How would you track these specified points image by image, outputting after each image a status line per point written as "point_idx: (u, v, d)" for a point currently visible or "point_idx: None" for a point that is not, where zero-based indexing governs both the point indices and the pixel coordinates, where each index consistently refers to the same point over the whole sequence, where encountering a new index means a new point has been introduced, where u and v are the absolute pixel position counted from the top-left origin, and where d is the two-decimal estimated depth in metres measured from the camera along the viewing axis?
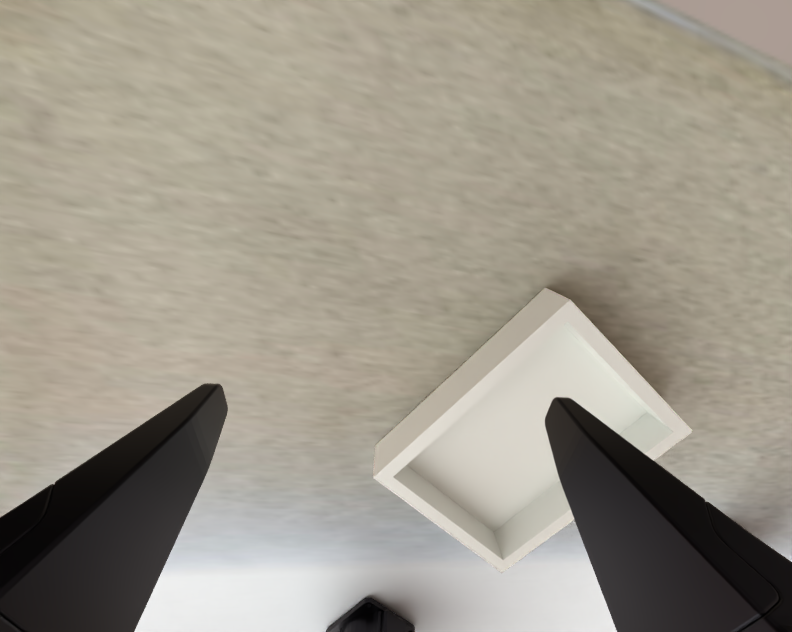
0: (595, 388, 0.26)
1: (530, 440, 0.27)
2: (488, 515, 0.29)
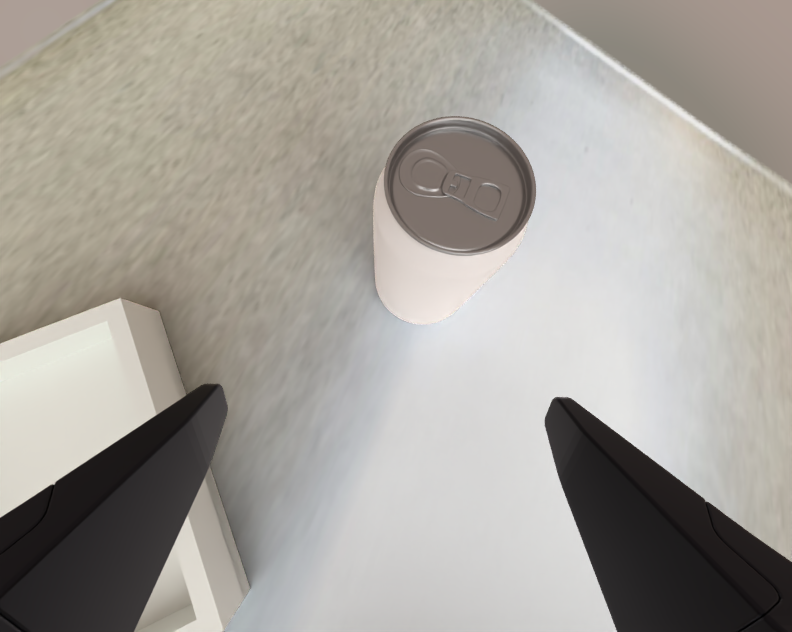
0: (67, 380, 0.21)
1: None
2: (184, 587, 0.19)
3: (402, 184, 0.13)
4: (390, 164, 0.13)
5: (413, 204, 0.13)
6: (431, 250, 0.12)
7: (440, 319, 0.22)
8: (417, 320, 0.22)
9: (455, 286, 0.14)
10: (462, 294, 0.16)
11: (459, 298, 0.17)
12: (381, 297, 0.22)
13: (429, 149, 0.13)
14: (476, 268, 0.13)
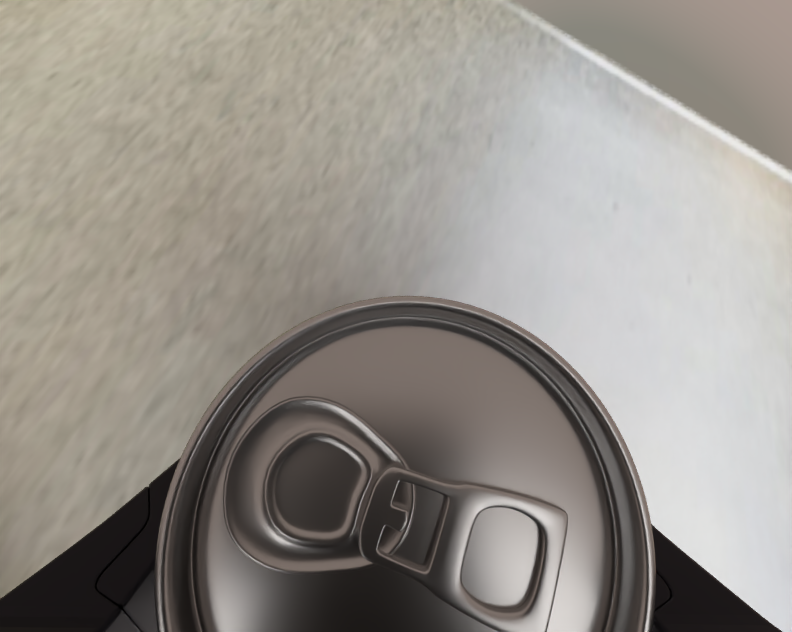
0: None
1: None
2: None
3: (232, 535, 0.04)
4: (185, 484, 0.04)
5: (266, 610, 0.04)
6: None
7: None
8: None
9: None
10: None
11: None
12: None
13: (320, 399, 0.04)
14: None
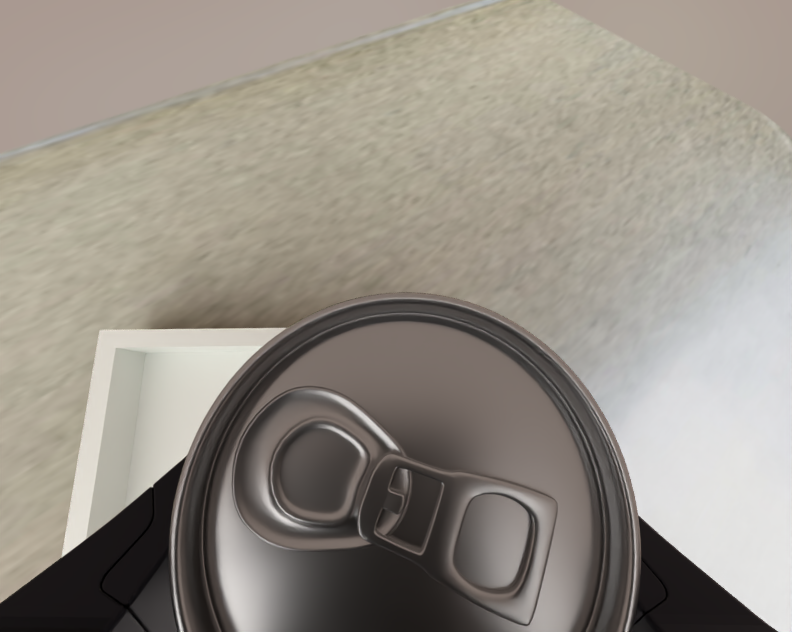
0: None
1: None
2: None
3: (240, 514, 0.04)
4: (197, 465, 0.04)
5: (270, 585, 0.04)
6: None
7: None
8: None
9: None
10: None
11: None
12: None
13: (324, 389, 0.05)
14: None
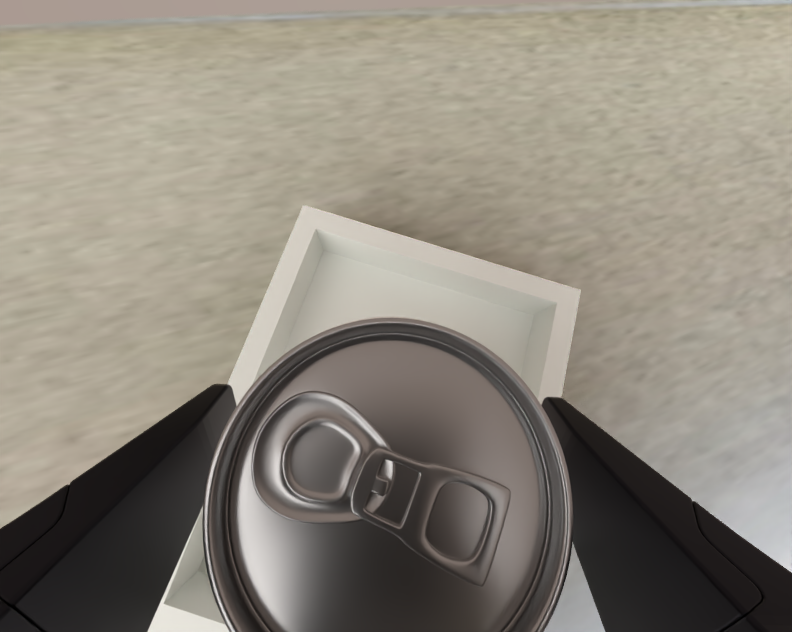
0: (444, 315, 0.18)
1: None
2: None
3: (257, 491, 0.05)
4: (225, 451, 0.05)
5: (279, 547, 0.05)
6: None
7: None
8: None
9: None
10: None
11: None
12: None
13: (327, 394, 0.06)
14: None
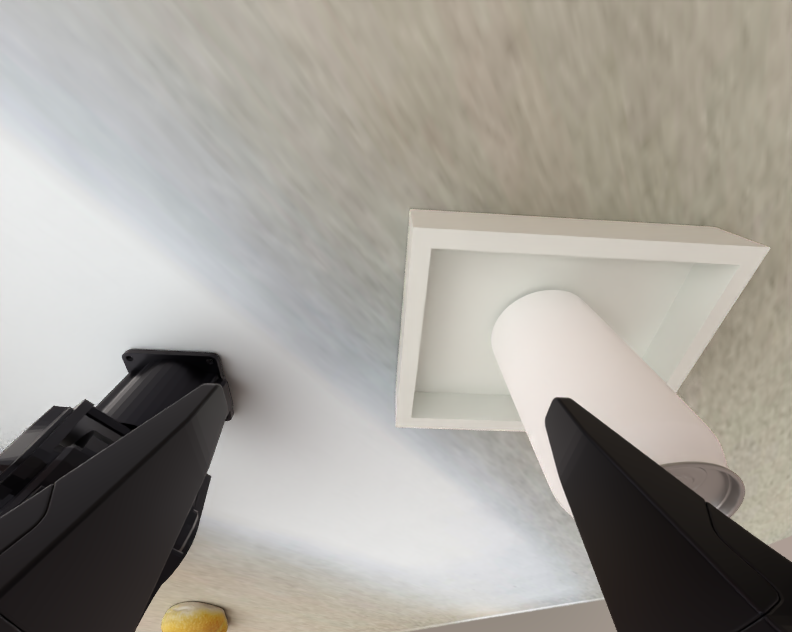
0: None
1: None
2: (424, 374, 0.25)
3: None
4: (690, 465, 0.11)
5: None
6: None
7: None
8: (496, 351, 0.21)
9: (542, 470, 0.15)
10: None
11: None
12: (517, 312, 0.20)
13: (704, 482, 0.12)
14: (564, 507, 0.14)
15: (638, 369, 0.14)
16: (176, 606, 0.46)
